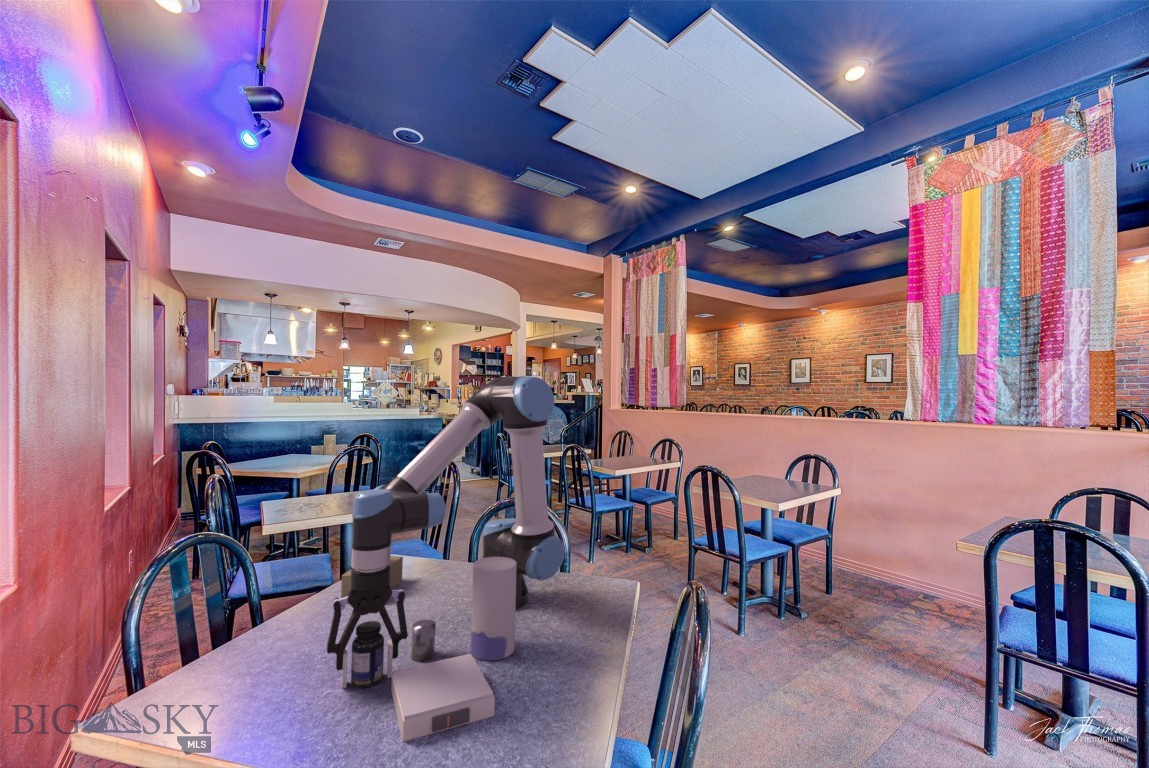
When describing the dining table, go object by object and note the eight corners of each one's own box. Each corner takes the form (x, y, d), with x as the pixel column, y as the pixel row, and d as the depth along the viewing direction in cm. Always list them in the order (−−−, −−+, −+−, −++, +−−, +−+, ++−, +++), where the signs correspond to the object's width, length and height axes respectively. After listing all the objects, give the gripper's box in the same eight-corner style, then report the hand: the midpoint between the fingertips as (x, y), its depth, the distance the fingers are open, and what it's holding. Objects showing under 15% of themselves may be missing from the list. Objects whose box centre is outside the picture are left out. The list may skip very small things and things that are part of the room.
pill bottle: (375, 668, 104) (377, 616, 105) (388, 680, 100) (389, 626, 100) (345, 680, 100) (347, 625, 100) (357, 693, 95) (359, 635, 96)
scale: (471, 672, 104) (471, 652, 104) (495, 718, 89) (496, 695, 89) (391, 691, 96) (391, 670, 96) (403, 744, 81) (404, 720, 81)
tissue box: (373, 606, 136) (375, 549, 137) (339, 604, 137) (341, 547, 137) (402, 581, 155) (404, 531, 155) (373, 580, 156) (374, 530, 156)
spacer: (432, 648, 113) (433, 618, 113) (436, 659, 109) (437, 627, 109) (409, 653, 111) (410, 622, 111) (413, 664, 106) (414, 631, 107)
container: (521, 644, 116) (523, 558, 117) (502, 665, 107) (504, 572, 107) (484, 636, 119) (486, 553, 120) (462, 656, 110) (464, 566, 111)
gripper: (419, 555, 109) (416, 659, 108) (314, 567, 99) (310, 682, 98) (425, 565, 102) (422, 676, 101) (313, 580, 93) (309, 702, 92)
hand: (367, 679), depth 100 cm, fingers open, 8 cm apart
